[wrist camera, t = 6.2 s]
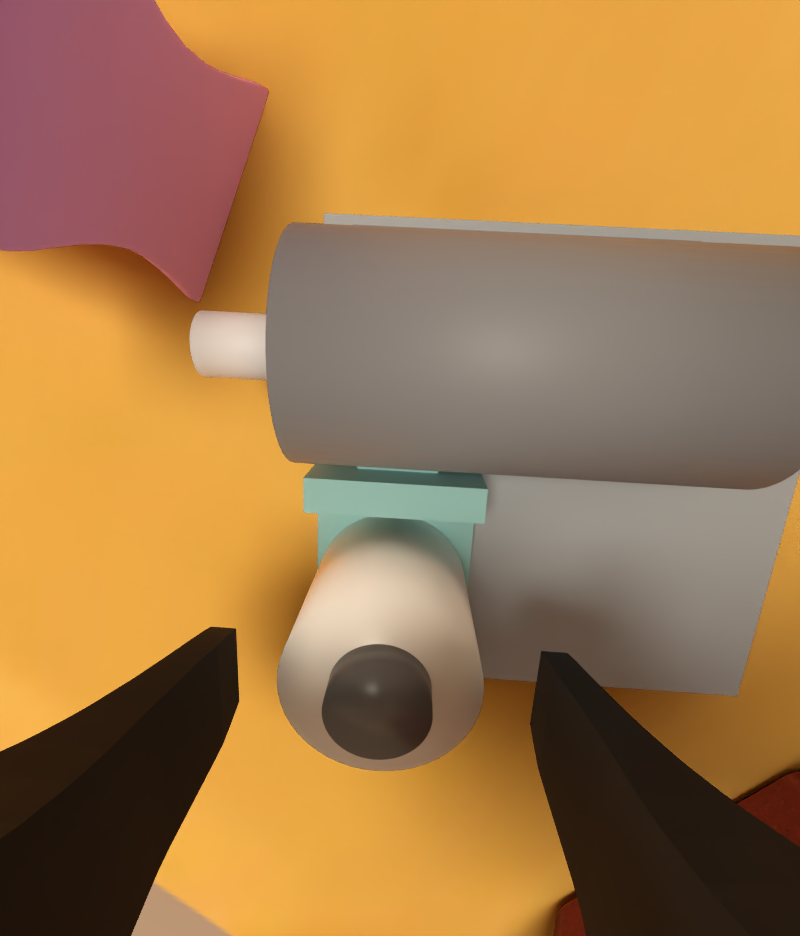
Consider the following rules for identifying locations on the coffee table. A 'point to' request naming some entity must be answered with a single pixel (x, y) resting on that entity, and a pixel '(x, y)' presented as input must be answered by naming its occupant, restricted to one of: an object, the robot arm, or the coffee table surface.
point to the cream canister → (384, 649)
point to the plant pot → (778, 805)
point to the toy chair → (118, 135)
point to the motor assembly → (546, 422)
